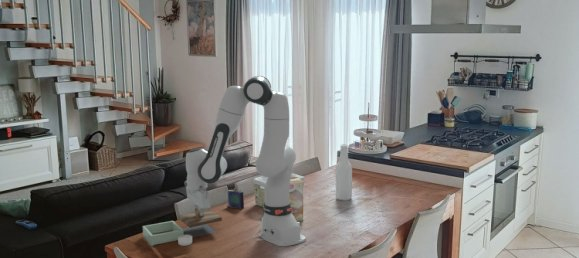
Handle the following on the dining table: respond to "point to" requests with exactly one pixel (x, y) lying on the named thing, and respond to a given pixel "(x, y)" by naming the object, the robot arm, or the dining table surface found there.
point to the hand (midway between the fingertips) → (199, 214)
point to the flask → (235, 198)
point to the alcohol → (344, 175)
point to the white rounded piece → (185, 240)
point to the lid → (199, 218)
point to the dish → (162, 237)
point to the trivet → (199, 230)
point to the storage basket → (260, 184)
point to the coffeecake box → (296, 198)
